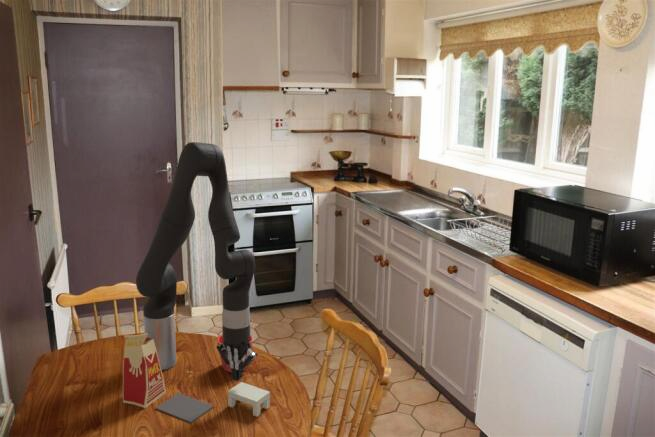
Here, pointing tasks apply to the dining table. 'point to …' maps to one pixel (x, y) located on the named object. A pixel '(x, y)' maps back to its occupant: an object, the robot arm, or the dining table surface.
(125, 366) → the milk carton
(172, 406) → the mat
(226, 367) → the flower pot
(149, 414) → the dining table surface
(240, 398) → the stool
